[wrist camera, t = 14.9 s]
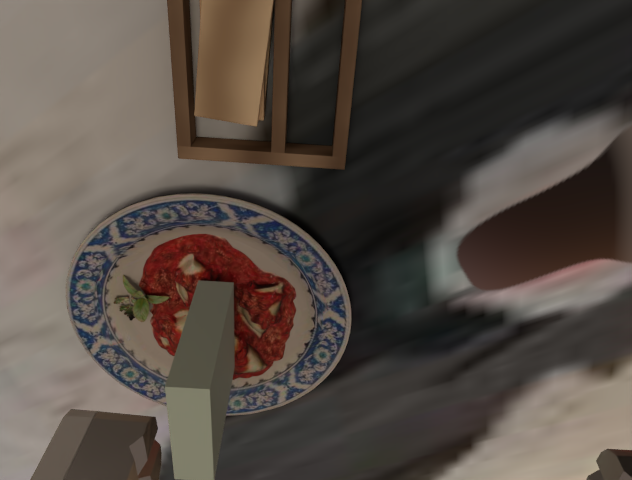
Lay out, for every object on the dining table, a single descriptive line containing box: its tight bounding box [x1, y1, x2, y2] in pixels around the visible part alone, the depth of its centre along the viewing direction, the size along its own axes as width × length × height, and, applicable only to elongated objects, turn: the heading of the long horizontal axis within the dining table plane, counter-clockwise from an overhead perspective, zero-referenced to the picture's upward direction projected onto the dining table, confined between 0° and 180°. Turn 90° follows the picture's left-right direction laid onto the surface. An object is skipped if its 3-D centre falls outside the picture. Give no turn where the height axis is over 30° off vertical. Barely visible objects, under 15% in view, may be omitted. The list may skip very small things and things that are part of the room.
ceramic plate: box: [66, 193, 351, 415], centre depth 51 cm, size 26×26×3 cm
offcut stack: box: [194, 0, 274, 127], centre depth 38 cm, size 5×12×4 cm, turn 173°
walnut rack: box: [167, 0, 362, 170], centre depth 38 cm, size 13×18×2 cm
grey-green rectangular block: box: [165, 280, 235, 480], centre depth 45 cm, size 3×10×12 cm, turn 176°
